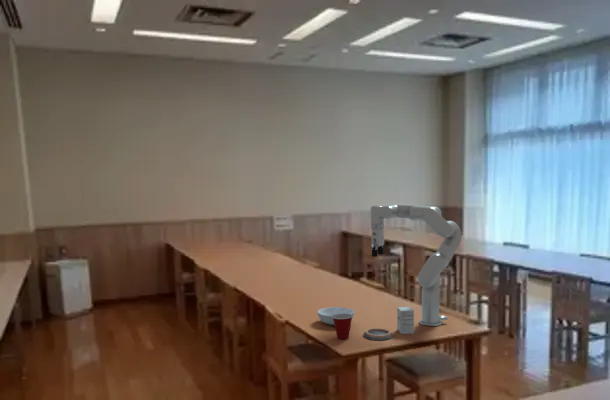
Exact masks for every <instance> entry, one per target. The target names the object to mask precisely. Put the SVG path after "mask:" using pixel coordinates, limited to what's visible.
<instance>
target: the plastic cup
mask: <svg viewBox="0 0 610 400" xmlns="http://www.w3.org/2000/svg"><path fill="white" fill-rule="evenodd" d="M352 316H353V315H352V314H336V315H333V316H332V318H333V320H334V324H335V325H334V328H335V333H336V337H337V339H338V340H342V341H343V340H348V339H349V337H350V336H349V335H350V332H351V325H352V320H353V318H352ZM353 317H354V316H353Z"/></svg>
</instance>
